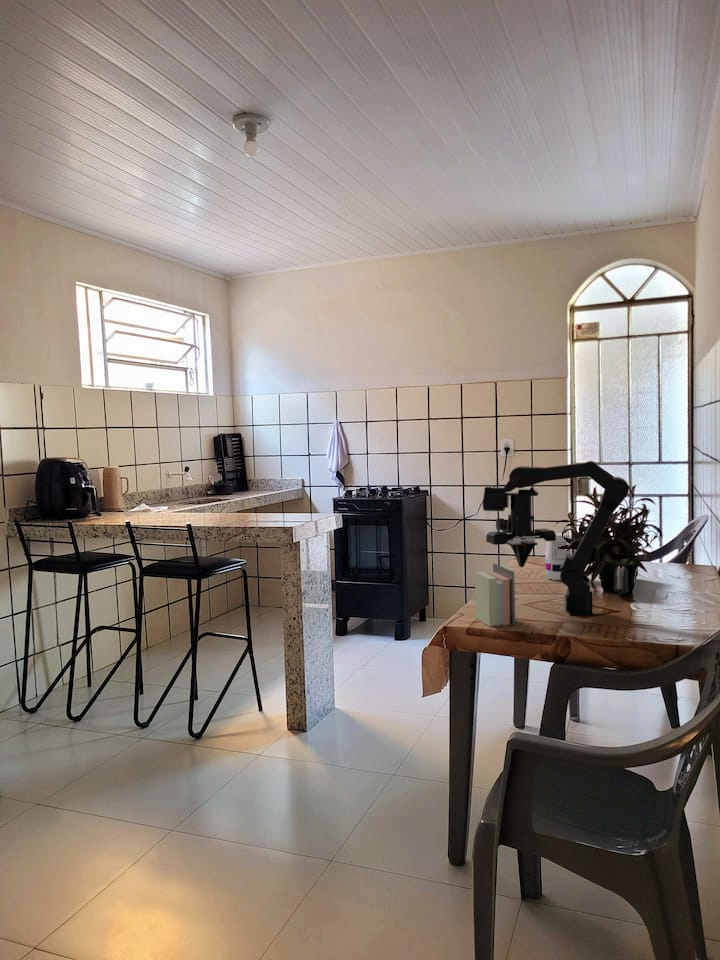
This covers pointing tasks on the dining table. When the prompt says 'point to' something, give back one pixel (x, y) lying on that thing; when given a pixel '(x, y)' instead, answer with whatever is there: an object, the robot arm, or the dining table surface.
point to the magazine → (621, 580)
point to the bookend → (510, 575)
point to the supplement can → (555, 556)
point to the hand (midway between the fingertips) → (521, 567)
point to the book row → (492, 598)
